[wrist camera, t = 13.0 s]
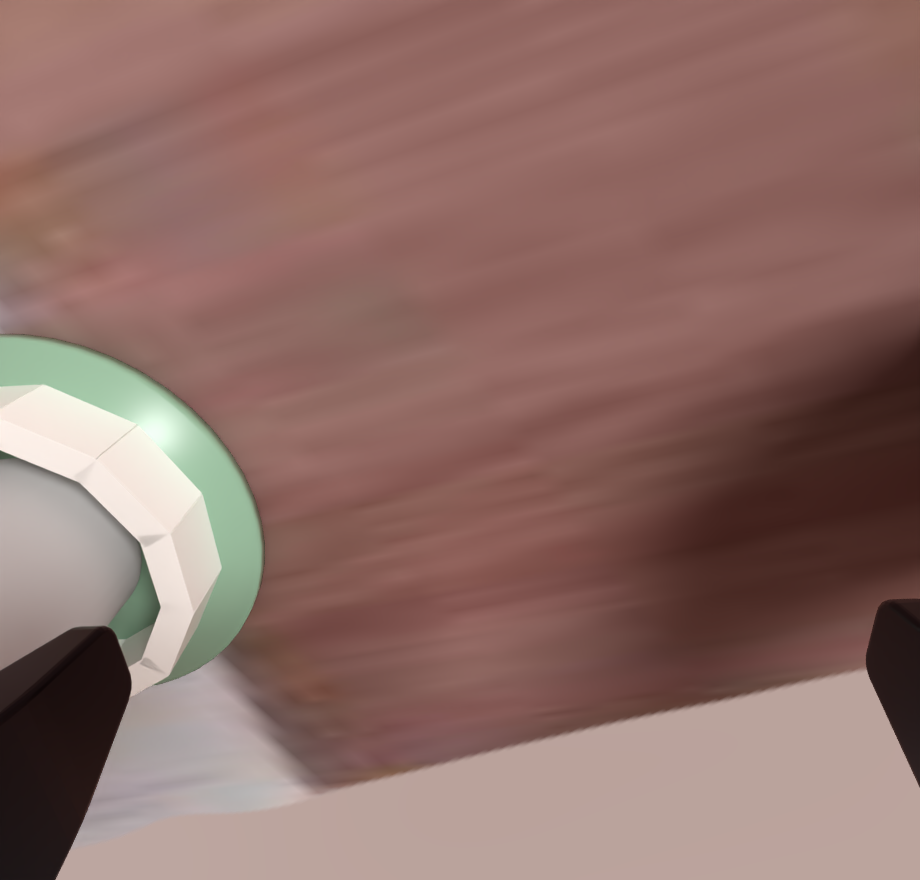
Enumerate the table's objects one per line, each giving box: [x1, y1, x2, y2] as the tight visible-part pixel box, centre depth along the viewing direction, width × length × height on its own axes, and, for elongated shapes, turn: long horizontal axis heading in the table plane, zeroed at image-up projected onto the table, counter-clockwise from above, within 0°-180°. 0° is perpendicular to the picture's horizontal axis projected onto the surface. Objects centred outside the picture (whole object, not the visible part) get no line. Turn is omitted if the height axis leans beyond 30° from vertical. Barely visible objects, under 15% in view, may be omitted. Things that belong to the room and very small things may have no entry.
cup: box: [0, 334, 265, 697], centre depth 21 cm, size 14×14×3 cm
